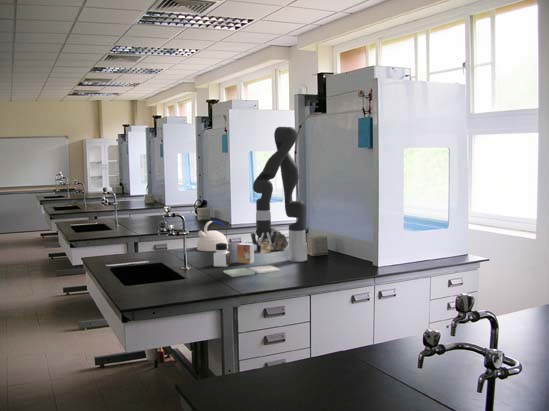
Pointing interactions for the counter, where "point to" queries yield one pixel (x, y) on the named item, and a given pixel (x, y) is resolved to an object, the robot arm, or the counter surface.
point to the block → (265, 248)
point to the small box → (245, 253)
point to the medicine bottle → (221, 255)
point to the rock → (277, 241)
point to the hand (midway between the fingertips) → (264, 251)
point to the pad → (264, 269)
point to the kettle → (210, 238)
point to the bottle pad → (239, 272)
